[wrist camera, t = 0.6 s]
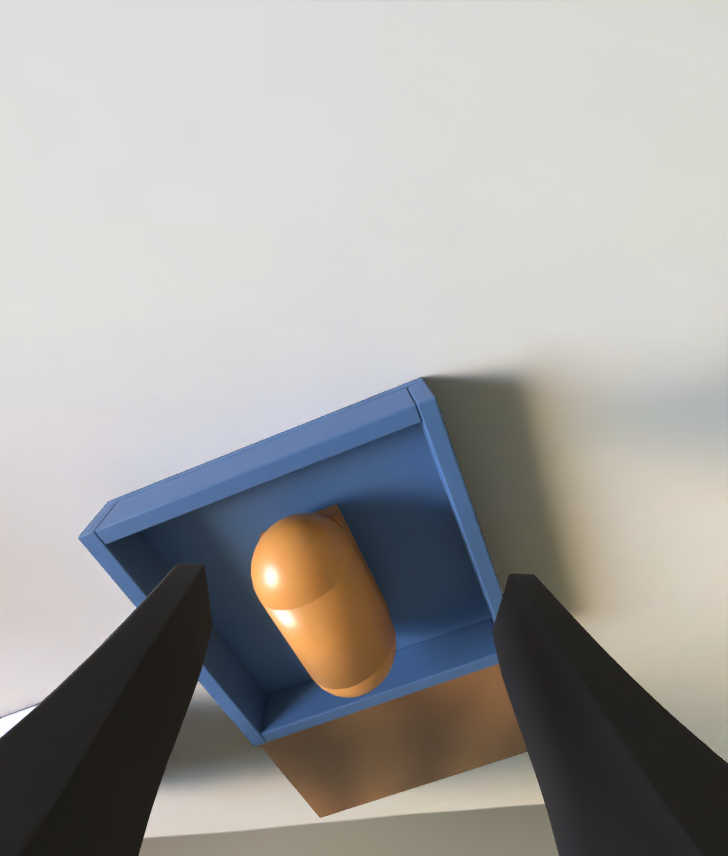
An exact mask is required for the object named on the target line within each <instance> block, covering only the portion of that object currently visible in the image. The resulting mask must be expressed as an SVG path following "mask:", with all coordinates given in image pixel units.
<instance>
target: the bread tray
mask: <svg viewBox="0 0 728 856" xmlns="http://www.w3.org/2000/svg"><path fill="white" fill-rule="evenodd" d="M335 504H337V505H338V507H339V509H340V511H341V513H342V515H343V517H344V519H345V521H346V523H347V525H348V527H349V529H350V531H351V533H352V535H353V537H354V539H355V541H356V543H357V545H358V547H359V549H360V551H361V553H362V555H363V557H364V559H365V561H366V563H367V565H368V567H369V569H370V571H371V573H372V575H373V577H374V579H375V581H376V583H377V585H378V587H379V589H380V591H381V593H382V595H383V597H384V599H385V601H386V603H387V605H388V609H389V615H390V618H391V620H392V623H393V626H394V630H395V633H396V654H395V659H394V662H393V665H392V668H391V670H390V672H389V673H388V675H387V677H386V678H385V679H384V680H383V682H382V683H381V684H380V685H378V686H377V687H376V688H375V689H373V690H372V691H370V692H369V693H367V694H364V695H362V696H358V697H350V698H346V697H339V696H335V695H333V694H331V693H329V692H327V691H325V690H323V689H322V688H321V687H320V686H319V685H318V684H317V683H316V682H315V681H314V680H313V679H312V678H311V676H310V675H309V673H308V672H307V670H306V669H305V667H304V666H303V664H302V663H301V661H300V660H299V658H298V657H297V655H296V654H295V652H294V651H293V649H292V648H291V646H290V645H289V643H288V642H287V640H286V639H285V637H284V636H283V634H282V633H281V631H280V630H279V629H278V627H277V626H276V624H275V623H274V621H273V620H272V618H271V617H270V615H269V614H268V612H267V611H266V609H265V608H264V606H263V605H262V603H261V602H260V600H259V598H258V596H257V594H256V592H255V590H254V587H253V582H252V577H251V563H252V557H253V554H254V551H255V548H256V546H257V544H258V542H259V539H260V535H261V533H262V532H264V531H267V530H268V529H269V528H270V527H271V526H272V525H273V524H275V523H276V522H277V521H279V520H281V519H283V518H285V517H287V516H290V515H293V514H298V513H314V512H317V511H320V510H322V509H325V508H328V507H330V506H333V505H335ZM78 539H79V540H80V541H81V542H82V544H83V545H84V546H85V547H86V548H87V549H88V551H89V552H90V553H91V554H92V555H93V557H94V558H95V559H96V560H97V561H98V562H99V564H100V565H101V566H102V567H103V568H104V570H105V571H106V572H107V573H108V574H109V575H110V577H111V578H112V579H113V580H114V581H115V583H116V584H117V585H118V586H119V587H120V588H121V590H122V591H123V592H124V593H125V594H126V596H127V597H128V598H129V599H130V600H131V601H132V603H133V604H134V605H135V606H136V607H138V606H139V605H140V604H141V603H142V602H143V601H144V599H145V598H146V597H147V596H148V595H149V594H150V593H151V592H152V591H153V590H154V588H155V587H156V586H157V585H158V584H159V583H160V582H161V581H162V580H163V578H164V577H165V576H166V575H167V574H168V573H169V572H170V571H171V569H172V568H173V567H174V566H176V565H177V564H205V571H206V578H207V586H208V593H209V601H210V608H211V616H212V623H213V626H212V630H211V634H210V638H209V643H208V647H207V651H206V655H205V659H204V662H203V666H202V670H201V673H200V676H199V679H198V681H199V682H200V683H201V684H202V685H203V687H204V688H205V689H206V690H207V691H208V693H209V694H210V695H211V696H212V697H213V698H214V700H215V701H216V702H217V703H218V704H219V706H220V707H221V708H222V709H223V710H224V712H225V713H226V714H227V715H228V716H229V717H230V719H231V720H232V721H233V722H234V723H235V725H236V726H237V727H238V728H239V729H240V730H241V732H242V733H243V734H244V735H245V736H246V738H247V739H248V740H249V741H250V742H251V743H252V745H253V746H258V745H261V744H264V743H266V742H267V741H268V742H269V741H272V740H275V739H278V738H281V737H284V736H287V735H290V734H293V733H296V732H298V731H301V730H304V729H307V728H310V727H313V726H316V725H319V724H322V723H325V722H328V721H331V720H334V719H337V718H340V717H343V716H346V715H349V714H352V713H355V712H358V711H361V710H364V709H367V708H370V707H372V706H375V705H378V704H381V703H384V702H387V701H390V700H393V699H396V698H399V697H402V696H405V695H408V694H411V693H414V692H417V691H420V690H423V689H426V688H429V687H432V686H435V685H438V684H441V683H444V682H446V681H449V680H452V679H455V678H458V677H461V676H464V675H467V674H470V673H473V672H476V671H479V670H482V669H485V668H488V667H491V666H494V665H497V664H499V662H498V658H497V653H496V649H495V644H494V639H493V634H492V629H493V626H494V623H495V619H496V616H497V613H498V610H499V606H500V603H501V600H502V596H503V593H502V590H501V587H500V584H499V581H498V578H497V575H496V572H495V569H494V567H493V564H492V561H491V558H490V555H489V552H488V549H487V546H486V543H485V540H484V537H483V534H482V531H481V528H480V525H479V522H478V520H477V517H476V514H475V511H474V508H473V505H472V502H471V499H470V496H469V493H468V490H467V487H466V484H465V481H464V478H463V476H462V473H461V470H460V467H459V464H458V461H457V458H456V455H455V452H454V449H453V446H452V443H451V440H450V437H449V434H448V431H447V429H446V426H445V423H444V420H443V417H442V414H441V411H440V408H439V405H438V402H437V399H436V397H435V396H434V394H433V393H432V392H431V390H430V389H429V387H428V386H427V384H426V383H425V382H424V380H423V378H422V377H420V378H418V379H415V380H413V381H410V382H408V383H405V384H403V385H400V386H398V387H395V388H393V389H390V390H388V391H385V392H383V393H380V394H378V395H375V396H373V397H370V398H368V399H365V400H362V401H360V402H357V403H355V404H352V405H350V406H347V407H345V408H342V409H340V410H337V411H335V412H332V413H330V414H327V415H325V416H322V417H320V418H317V419H315V420H312V421H310V422H307V423H305V424H302V425H300V426H297V427H295V428H292V429H289V430H287V431H284V432H282V433H279V434H277V435H274V436H272V437H269V438H267V439H264V440H262V441H259V442H257V443H254V444H252V445H249V446H247V447H244V448H242V449H239V450H237V451H234V452H232V453H229V454H227V455H224V456H222V457H219V458H217V459H214V460H211V461H209V462H206V463H204V464H201V465H199V466H196V467H194V468H191V469H189V470H186V471H184V472H181V473H179V474H176V475H174V476H171V477H169V478H166V479H164V480H161V481H159V482H156V483H154V484H151V485H149V486H146V487H144V488H141V489H138V490H136V491H133V492H131V493H128V494H126V495H123V496H121V497H118V498H116V499H113V500H111V501H108V502H107V503H106V504H105V506H104V507H103V508H102V509H101V511H100V512H99V513H98V514H97V515H96V516H95V518H94V519H93V520H92V521H91V522H90V524H89V525H88V526H87V527H86V528H85V530H84V531H83V532H82V533H81V534H80V535H79V537H78Z"/></svg>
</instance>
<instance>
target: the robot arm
mask: <svg viewBox="0 0 728 856" xmlns="http://www.w3.org/2000/svg"><path fill="white" fill-rule="evenodd" d="M212 626H213V623H212V616H211V608H210V601H209V593H208V586H207V578H206V571H205V564H177V565H176V566H174V567H173V568H172V569H171V571H170V572H169V573H168V574H167V575H166V576H165V577H164V578H163V580H162V581H161V582H160V583H159V584H158V585H157V586H156V587H155V588H154V590H153V591H152V592H151V593H150V594H149V595H148V596H147V597H146V598H145V599H144V601H143V602H142V603H141V604H140V605H139V606H138V607H137V608H136V609H135V610H134V611H133V612H132V613H131V615H130V616H129V617H128V618H127V619H126V620H125V621H124V622H123V623H122V624H121V625H120V626H119V627H118V628H117V629H116V630H115V631H114V632H113V633H112V634H111V635H110V636H109V637H108V638H107V639H106V641H105V642H104V643H103V644H102V645H101V646H100V647H99V648H98V649H97V650H96V651H95V652H94V653H93V654H92V655H91V656H90V657H89V658H87V659H86V660H85V661H84V662H83V663H82V664H81V665H80V666H79V667H78V668H77V669H76V670H75V671H74V672H73V673H72V674H71V675H70V676H69V677H68V678H67V679H66V680H65V681H63V682H62V683H61V684H60V685H59V686H58V687H57V688H56V689H55V690H54V691H53V692H52V693H51V694H50V695H49V696H47V697H46V698H45V699H44V700H43V701H42V702H41V703H40V704H39V705H36V706H33V707H30V708H27V709H25V710H22V711H19V712H16V713H14V714H11V715H8V716H5V717H3V718H0V856H138V855H139V852H140V848H141V844H142V841H143V837H144V834H145V830H146V827H147V823H148V820H149V816H150V813H151V810H152V807H153V804H154V801H155V798H156V794H157V791H158V788H159V785H160V783H161V780H162V777H163V774H164V772H165V769H166V766H168V764H169V761H170V755H171V753H172V750H173V747H174V745H175V742H176V739H177V736H178V734H179V731H180V728H181V726H182V723H183V720H184V717H185V715H186V712H187V709H188V707H189V704H190V701H191V698H192V695H193V693H194V690H195V687H196V684H197V682H198V679H199V676H200V673H201V670H202V666H203V662H204V659H205V655H206V651H207V647H208V643H209V638H210V634H211V630H212ZM492 634H493V639H494V644H495V649H496V653H497V658H498V662H499V666H500V670H501V675H502V678H503V681H504V684H505V687H506V690H507V693H508V696H509V699H510V702H511V705H512V708H513V711H514V714H515V717H516V719H517V722H518V725H519V728H520V731H521V734H522V737H523V740H524V742H525V745H526V748H527V751H528V754H529V757H530V760H531V763H532V765H533V768H534V771H535V774H536V777H537V780H538V783H539V786H540V789H541V792H542V795H543V798H544V802H545V805H546V808H547V811H548V815H549V819H550V822H551V826H552V830H553V834H554V838H555V842H556V846H557V849H558V853H559V856H728V763H727V762H726V761H724V760H723V759H722V758H721V757H720V756H718V755H717V754H716V753H715V752H714V751H712V750H711V749H710V748H709V747H708V746H707V745H706V744H704V743H703V742H702V741H701V740H700V739H699V738H697V737H696V736H695V735H694V734H693V733H692V732H690V731H689V730H688V729H687V728H686V727H685V726H683V725H682V724H681V723H680V722H679V721H678V720H677V719H676V718H674V717H673V716H672V715H671V714H670V713H669V712H668V711H667V710H666V709H665V708H663V707H662V706H661V705H660V704H659V703H658V702H657V701H656V700H655V699H654V698H653V697H652V696H651V695H650V694H649V693H648V692H647V691H645V690H644V689H643V688H642V687H641V686H640V685H639V684H638V683H637V682H636V681H635V680H634V679H633V678H632V677H631V676H630V675H629V674H628V673H627V672H626V671H625V670H624V669H623V668H622V667H621V666H620V665H619V664H618V663H617V662H616V661H615V660H614V659H613V658H612V657H611V656H610V655H609V654H608V653H607V652H606V651H605V650H604V649H603V648H602V647H601V646H600V645H599V644H598V643H597V642H596V641H595V640H594V639H593V638H592V637H591V635H590V634H589V633H588V632H587V631H586V630H585V629H584V628H583V627H582V626H581V625H580V624H579V623H578V622H577V621H576V619H575V618H574V617H573V616H572V615H571V614H570V613H569V612H568V611H567V610H566V609H565V608H564V606H563V605H562V604H561V603H560V602H559V601H558V600H557V599H556V598H555V597H554V596H553V594H552V593H551V592H550V591H549V590H548V589H547V588H546V587H545V586H544V585H543V584H542V582H541V581H540V580H539V579H538V578H537V577H536V576H535V575H531V574H509V576H508V580H507V583H506V586H505V590H504V593H503V596H502V600H501V603H500V606H499V610H498V613H497V616H496V619H495V623H494V626H493V629H492Z"/></svg>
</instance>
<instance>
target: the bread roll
mask: <svg viewBox="0 0 728 856" xmlns="http://www.w3.org/2000/svg"><path fill="white" fill-rule="evenodd" d="M251 577H252V582H253V587H254V590H255V592H256V594H257V596H258V598H259V600H260V602H261V603H262V605H263V606H264V608H265V609H266V611H267V612H268V614H269V615H270V617H271V618H272V620H273V621H274V623H275V624H276V626H277V627H278V629H279V630H280V631H281V633H282V634H283V636H284V637H285V639H286V640H287V642H288V643H289V645H290V646H291V648H292V649H293V651H294V652H295V654H296V655H297V657H298V658H299V660H300V661H301V663H302V664H303V666H304V667H305V669H306V670H307V672H308V673H309V675H310V676H311V678H312V679H313V680H314V681H315V682H316V683H317V684H318V685H319V686H320V687H321V688H322V689H323V690H325V691H327V692H329V693H331V694H333V695H335V696H339V697H346V698H350V697H358V696H362V695H364V694H367V693H369V692H370V691H372V690H373V689H375V688H376V687H377V686H378V685H380V684H381V683H382V682H383V680H384V679H385V678H386V677H387V675H388V673H389V672H390V670H391V668H392V665H393V662H394V659H395V654H396V633H395V630H394V626H393V623H392V620H391V618H390V615H389V609H388V605H387V603H386V601H385V599H384V597H383V595H382V593H381V591H380V589H379V587H378V585H377V583H376V581H375V579H374V577H373V575H372V573H371V571H370V569H369V567H368V565H367V563H366V561H365V559H364V557H363V555H362V553H361V551H360V549H359V547H358V545H357V543H356V541H355V539H354V537H353V535H352V533H351V531H350V529H349V527H348V525H347V523H346V521H345V519H344V517H343V515H342V513H341V511H340V509H339V507H338V505H337V504H335V505H333V506H330V507H328V508H325V509H322V510H320V511H317V512H314V513H298V514H293V515H290V516H287V517H285V518H283V519H281V520H279V521H277V522H276V523H275V524H273V525H272V526H271V527H270V528H269V529H268V530H267V531H264V532H262V533H261V535H260V539H259V542H258V544H257V546H256V548H255V551H254V554H253V557H252V563H251Z"/></svg>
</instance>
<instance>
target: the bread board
mask: <svg viewBox="0 0 728 856" xmlns="http://www.w3.org/2000/svg"><path fill="white" fill-rule="evenodd" d="M260 746H261V748H262V749H263V750H264V751H265V752H266V754H267V755H268V756H269V757H270V758H271V760H272V761H273V762H274V763H275V764H276V766H277V767H278V768H279V769H280V770H281V772H282V773H283V774H284V775H285V776H286V778H287V779H288V780H289V781H290V782H291V784H292V785H293V786H294V787H295V788H296V790H297V791H298V792H299V793H300V794H301V796H302V797H303V798H304V799H305V800H306V802H307V803H308V804H309V805H310V806H311V808H312V809H313V810H314V811H315V812H316V814H317V815H318V816H319V817H320V818H321V817H324V816H327V815H331V814H334V813H337V812H340V811H343V810H346V809H349V808H352V807H356V806H359V805H362V804H365V803H368V802H371V801H374V800H378V799H381V798H384V797H387V796H390V795H393V794H396V793H399V792H403V791H406V790H409V789H412V788H415V787H418V786H421V785H424V784H428V783H431V782H434V781H437V780H440V779H443V778H446V777H449V776H453V775H456V774H459V773H462V772H465V771H468V770H471V769H474V768H478V767H481V766H484V765H487V764H490V763H493V762H496V761H499V760H503V759H506V758H509V757H512V756H515V755H518V754H521V753H525V752H528V751H527V748H526V745H525V742H524V740H523V737H522V734H521V731H520V728H519V725H518V722H517V719H516V717H515V714H514V711H513V708H512V705H511V702H510V699H509V696H508V693H507V690H506V687H505V684H504V681H503V678H502V675H501V670H500V666H499V664H497V665H494V666H491V667H488V668H485V669H482V670H479V671H476V672H473V673H470V674H467V675H464V676H461V677H458V678H455V679H452V680H449V681H446V682H444V683H441V684H438V685H435V686H432V687H429V688H426V689H423V690H420V691H417V692H414V693H411V694H408V695H405V696H402V697H399V698H396V699H393V700H390V701H387V702H384V703H381V704H378V705H375V706H372V707H370V708H367V709H364V710H361V711H358V712H355V713H352V714H349V715H346V716H343V717H340V718H337V719H334V720H331V721H328V722H325V723H322V724H319V725H316V726H313V727H310V728H307V729H304V730H301V731H298V732H296V733H293V734H290V735H287V736H284V737H281V738H278V739H275V740H272V741H269V742H268V741H267V742H266V743H264V744H261V745H260Z"/></svg>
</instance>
